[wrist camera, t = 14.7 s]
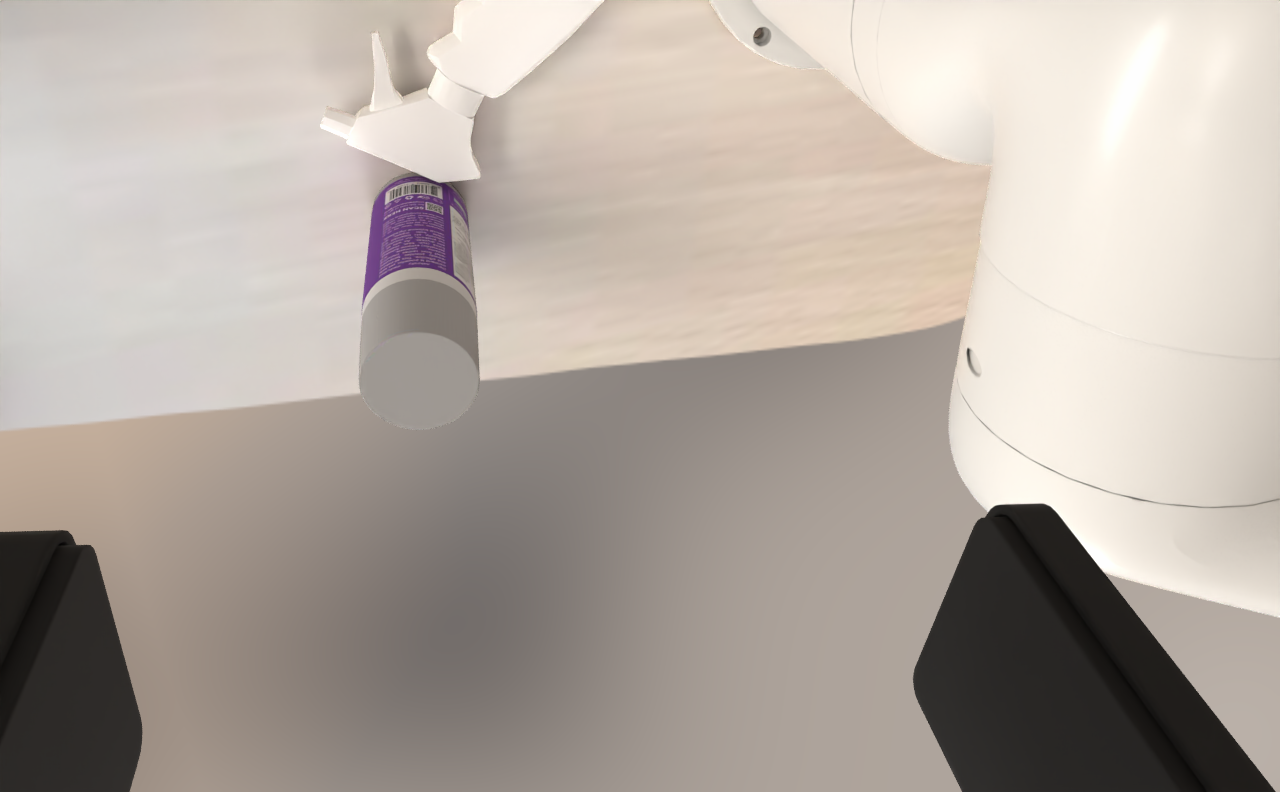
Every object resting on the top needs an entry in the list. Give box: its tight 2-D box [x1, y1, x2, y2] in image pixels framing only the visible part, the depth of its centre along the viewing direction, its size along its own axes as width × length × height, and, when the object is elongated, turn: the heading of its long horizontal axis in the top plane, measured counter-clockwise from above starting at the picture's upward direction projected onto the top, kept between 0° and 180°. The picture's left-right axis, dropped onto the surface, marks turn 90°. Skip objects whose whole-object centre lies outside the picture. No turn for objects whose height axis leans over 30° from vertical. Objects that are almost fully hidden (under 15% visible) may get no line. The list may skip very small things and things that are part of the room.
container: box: [359, 173, 480, 430], centre depth 42 cm, size 5×5×15 cm
